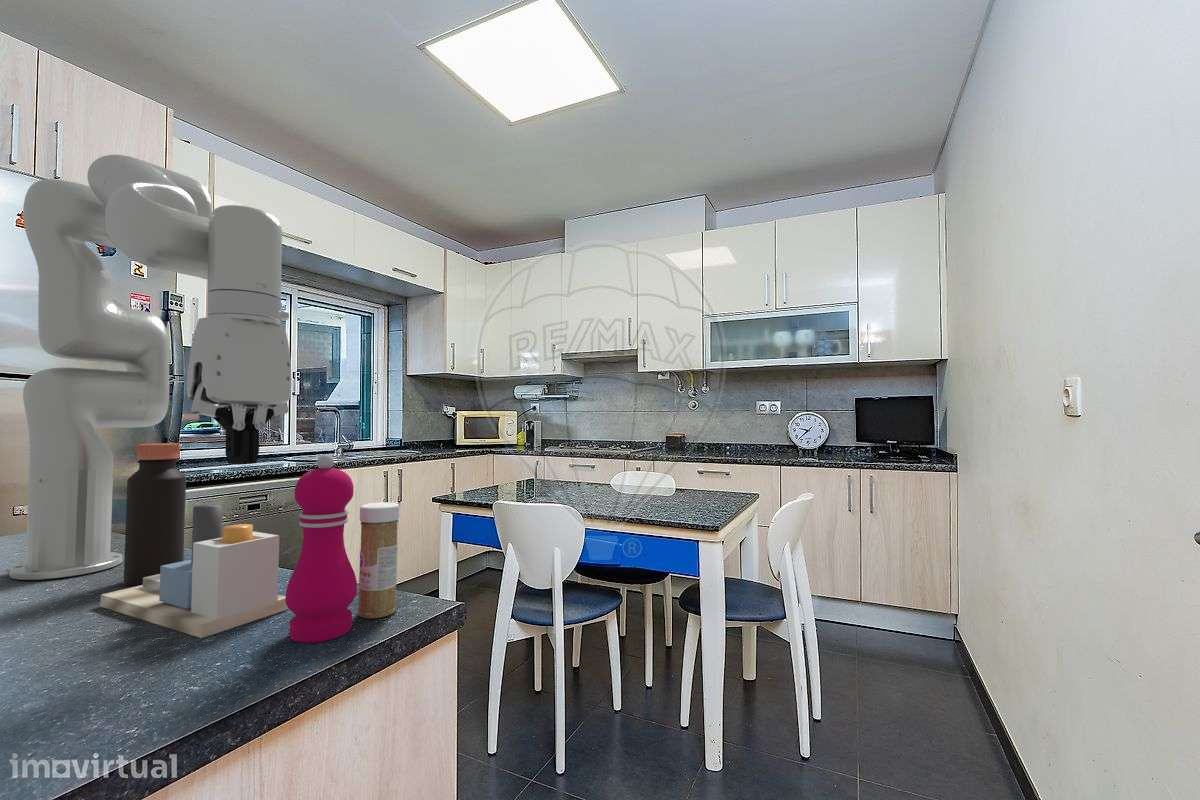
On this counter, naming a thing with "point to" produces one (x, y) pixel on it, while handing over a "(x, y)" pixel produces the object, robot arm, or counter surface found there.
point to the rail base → (179, 610)
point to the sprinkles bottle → (378, 559)
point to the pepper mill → (322, 557)
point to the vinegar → (154, 513)
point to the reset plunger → (237, 533)
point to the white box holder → (234, 575)
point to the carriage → (180, 574)
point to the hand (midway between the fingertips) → (242, 463)
